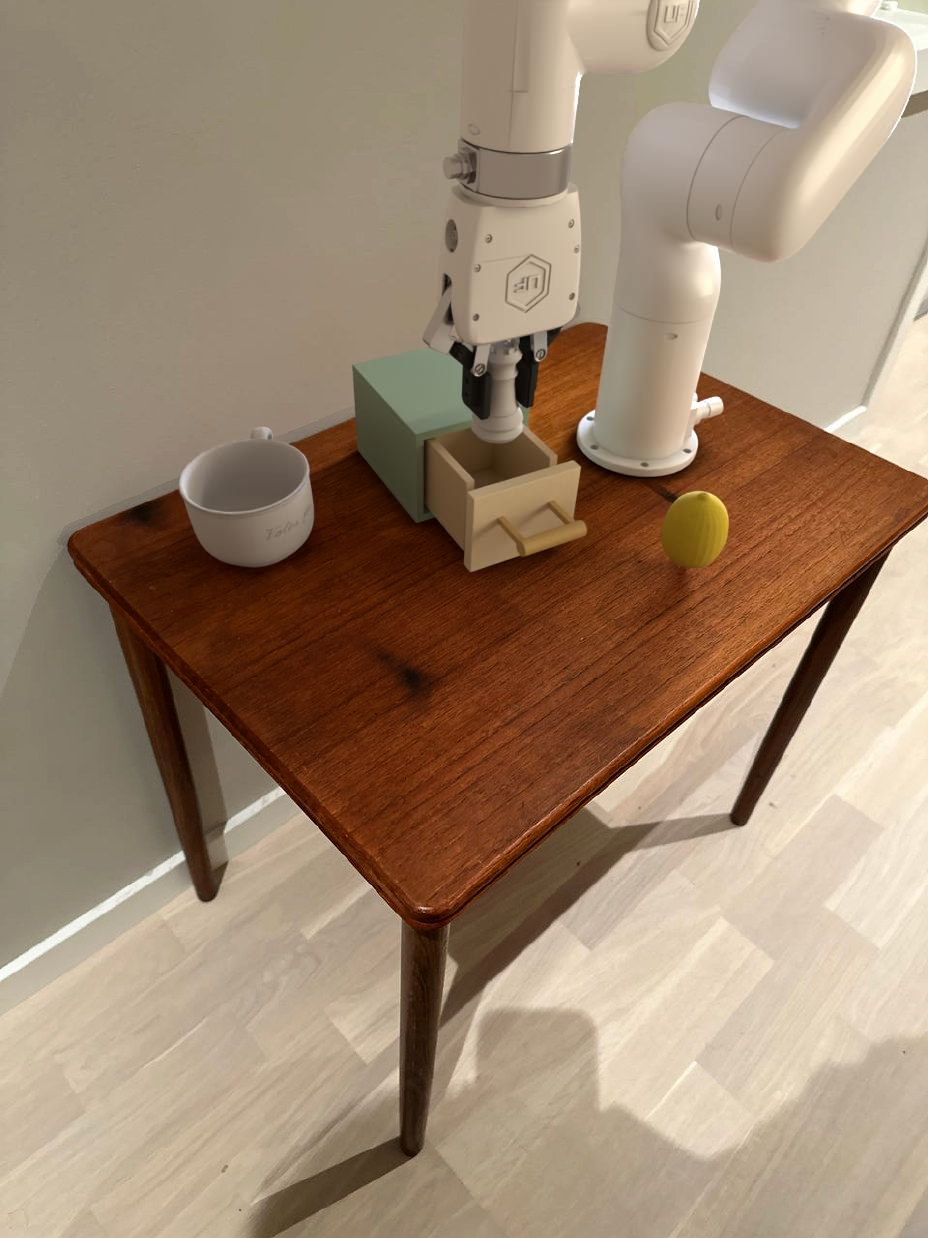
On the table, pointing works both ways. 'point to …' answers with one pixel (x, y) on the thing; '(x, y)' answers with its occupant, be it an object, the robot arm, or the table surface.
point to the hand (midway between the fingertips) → (498, 403)
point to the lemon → (695, 529)
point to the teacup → (249, 499)
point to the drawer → (500, 495)
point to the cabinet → (408, 417)
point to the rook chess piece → (501, 396)
